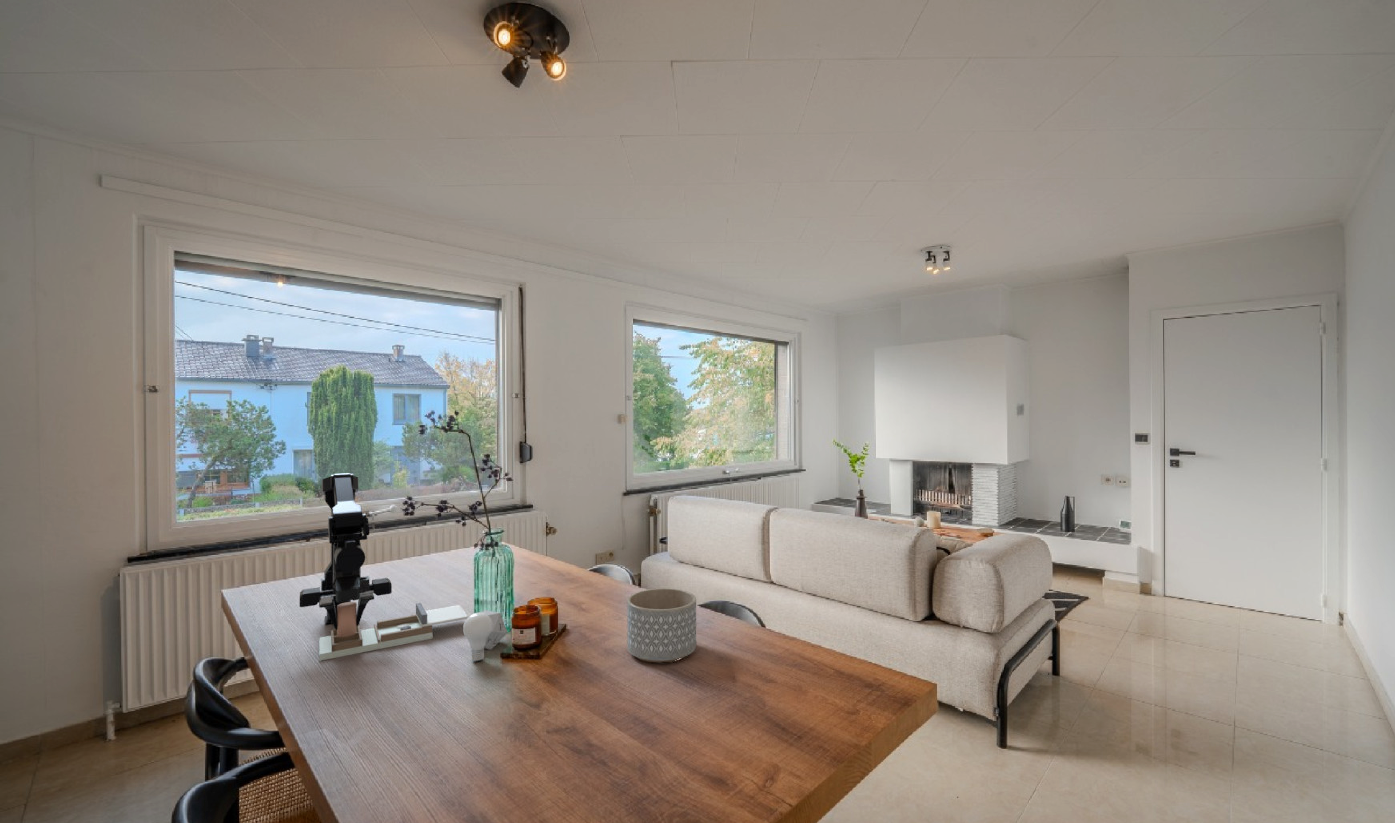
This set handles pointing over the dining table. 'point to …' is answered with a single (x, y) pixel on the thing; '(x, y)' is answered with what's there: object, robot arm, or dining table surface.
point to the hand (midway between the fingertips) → (346, 627)
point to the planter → (661, 624)
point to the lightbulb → (477, 633)
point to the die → (495, 629)
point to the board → (374, 637)
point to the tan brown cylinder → (346, 619)
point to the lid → (439, 615)
